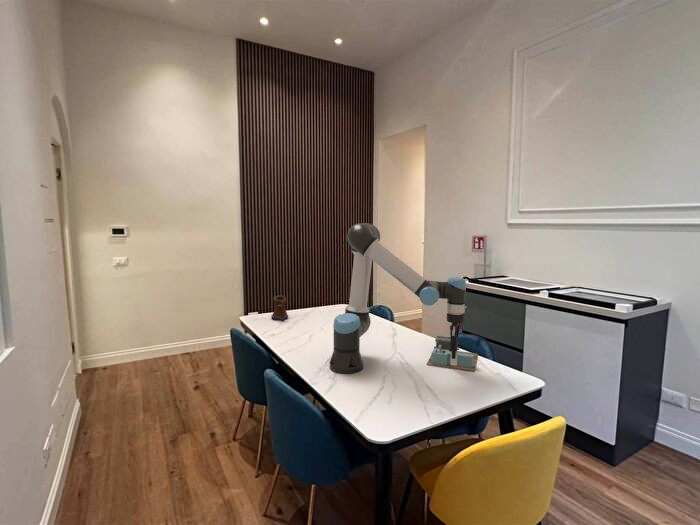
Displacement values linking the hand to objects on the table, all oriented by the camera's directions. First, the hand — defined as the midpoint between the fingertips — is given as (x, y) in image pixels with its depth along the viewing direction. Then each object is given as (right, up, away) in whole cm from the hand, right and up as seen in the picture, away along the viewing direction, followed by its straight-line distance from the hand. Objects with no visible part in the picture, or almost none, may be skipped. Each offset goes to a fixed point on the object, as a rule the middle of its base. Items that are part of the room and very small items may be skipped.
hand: (453, 364), depth 170 cm
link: (+1, -1, +6) cm, 7 cm away
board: (+3, -1, +13) cm, 13 cm away
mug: (-92, +7, +83) cm, 124 cm away
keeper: (+1, 0, +22) cm, 22 cm away
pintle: (-4, -2, +8) cm, 10 cm away
